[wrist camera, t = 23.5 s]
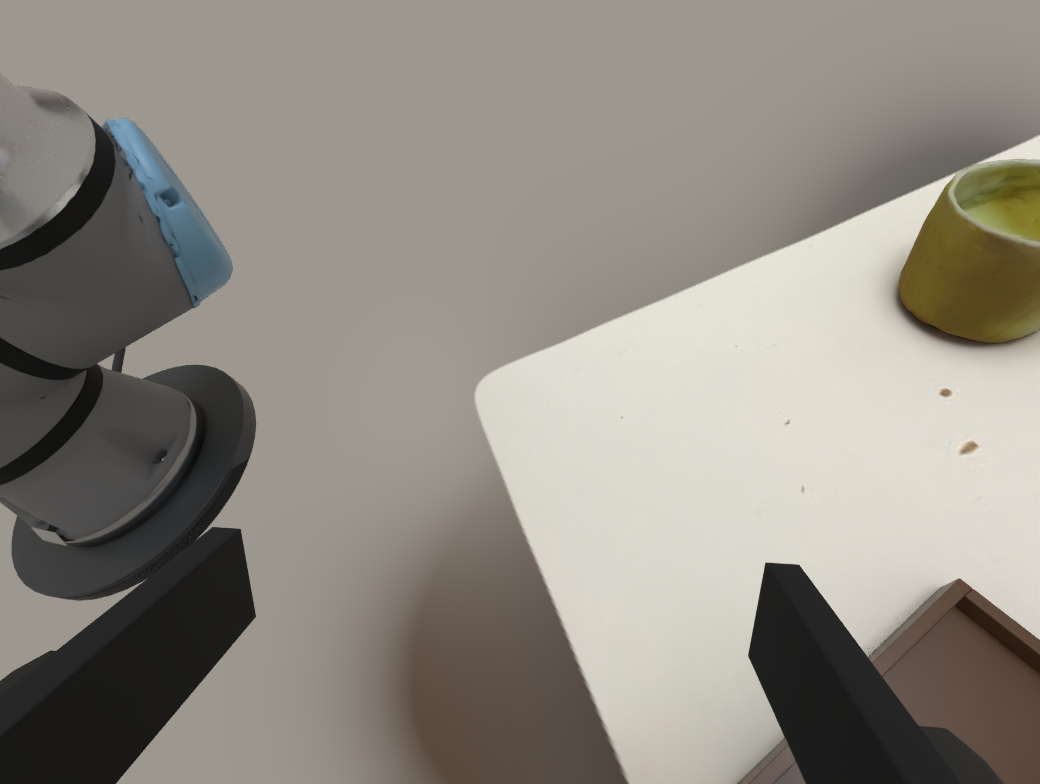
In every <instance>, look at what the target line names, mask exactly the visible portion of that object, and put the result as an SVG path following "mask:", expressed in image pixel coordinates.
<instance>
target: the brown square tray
mask: <svg viewBox="0 0 1040 784" xmlns="http://www.w3.org/2000/svg"><path fill="white" fill-rule="evenodd" d="M868 658H869V660H870V661H871V662H872V664H873V665H874V666H875V668H876V669H877V670H878V672H879V673H880V674H881V676H882V677H883V679H884V680H885V681H886V683H887V684H888V685H889V687H890V688H891V689H892V691H893V692H894V693H895V695H896V696H897V697H898V699H899V700H900V701H901V703H902V704H903V705H904V707H905V708H906V710H907V711H908V712H909V714H910V715H911V716H912V718H913V719H914V720H915V722H916V723H917V724H918V726H926V727H938V728H947V729H948V730H949V731H951V732H952V733H953V734H954V735H955V736H957V737H958V738H959V739H960V740H961V741H963V742H964V743H965V744H966V745H967V746H969V747H970V748H971V749H972V750H973V751H975V752H976V753H977V754H978V755H979V756H981V757H982V758H983V759H984V760H985V761H986V762H987V763H988V765H989V766H990V767H991V768H992V769H993V771H994V772H995V773H996V774H997V776H998V777H999V778H1000V779H1001V780H1002V782H1003V783H1004V784H1040V640H1039V639H1038V638H1036V637H1035V636H1034V635H1032V634H1031V633H1030V632H1029V631H1027V630H1026V629H1025V628H1023V627H1022V626H1021V625H1019V624H1018V623H1017V622H1016V621H1014V620H1013V619H1012V618H1010V617H1009V616H1008V615H1006V614H1005V613H1004V612H1003V611H1001V610H1000V609H999V608H997V607H996V606H995V605H993V604H992V603H991V602H990V601H988V600H987V599H986V598H984V597H983V596H982V595H980V594H979V593H978V592H977V591H975V590H974V589H972V588H971V587H970V586H969V585H968V584H966V583H965V582H964V581H962V580H961V579H957V580H955V581H953V582H951V583H949V584H947V585H945V586H943V587H940V588H939V589H938V590H937V591H936V592H935V593H934V594H933V595H932V596H931V597H930V598H929V599H928V600H927V601H926V602H925V603H924V604H923V605H922V606H920V607H919V608H918V609H917V610H916V611H915V612H914V613H913V614H912V615H911V616H910V617H909V618H908V619H907V620H906V621H905V622H904V623H903V624H902V625H901V626H900V627H899V628H898V629H897V630H896V631H895V632H894V633H893V634H892V635H891V636H890V637H888V638H887V639H886V640H885V641H884V642H883V643H882V644H881V645H880V646H879V647H878V648H877V649H876V650H875V651H874V652H873V653H872V654H871V655H870V656H869V657H868ZM738 784H806V783H805V781H804V778H803V776H802V774H801V772H800V770H799V767H798V765H797V763H796V761H795V758H794V756H793V754H792V752H791V750H790V747H789V745H788V743H787V741H786V738H784V739H783V740H782V741H781V742H780V743H779V744H778V745H777V746H776V747H775V748H774V749H773V750H772V751H771V752H770V753H769V754H768V755H767V756H766V757H765V758H764V759H762V760H761V761H760V762H759V763H758V764H757V765H756V766H755V767H754V768H753V769H752V770H751V771H750V772H749V773H748V774H747V775H746V776H745V777H744V778H743V779H742V780H741V781H740V782H739V783H738Z"/></svg>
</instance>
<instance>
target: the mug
mask: <svg viewBox="0 0 1040 784" xmlns="http://www.w3.org/2000/svg"><path fill="white" fill-rule="evenodd" d="M899 292H900V296H901V300H902V302H903V305H904V306H905V307H906V308H907V310H908V311H909V312H911V313H913V314H914V316H915V317H916V318H918V319H919V320H920V321H922V322H924V323H926V324H930V325H933V326H935V327H937V328H938V329H940V330H941V331H943V332H946V333H948V334H951V335H957V336H961V337H964V338H968V339H971V340H976V341H981V342H986V343H1001V342H1006V341H1009V340H1013V339H1016V338H1020V337H1024V336H1026V335H1028V334H1031V333H1033V332H1035V331H1037V330H1039V329H1040V160H1028V159H1011V160H999V161H992V162H987V163H982V164H977V165H973V166H970V167H968V168H966V169H964V170H963V171H961V172H959V173H957V174H956V175H955V176H954V177H953V179H952V180H951V181H950V182H949V183H948V184H947V185H946V186H945V188H944V190H943V191H942V193H941V195H940V196H939V198H938V200H937V202H936V203H935V205H934V207H933V208H932V210H931V211H930V213H929V214H928V216H927V218H926V220H925V222H924V224H923V226H922V228H921V230H920V232H919V235H918V237H917V239H916V241H915V243H914V245H913V248H912V250H911V252H910V254H909V257H908V259H907V261H906V263H905V265H904V267H903V269H902V272H901V276H900V280H899Z"/></svg>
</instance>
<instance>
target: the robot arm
mask: <svg viewBox="0 0 1040 784" xmlns="http://www.w3.org/2000/svg"><path fill="white" fill-rule="evenodd" d="M232 270H233V267H232V261H231V259H230V256H229V254H228V252H227V251H226V249H225V247H224V245H223V244H222V242H221V241H220V239H219V237H218V236H217V234H216V233H215V231H214V229H213V228H212V226H211V225H210V223H209V222H208V220H207V219H206V217H205V216H204V214H203V213H202V211H201V210H200V208H199V207H198V205H197V204H196V203H195V201H194V199H193V198H192V196H191V195H190V194H189V192H188V191H187V189H186V188H185V186H184V185H183V184H182V182H181V181H180V179H179V178H178V177H177V175H176V174H175V172H174V171H173V170H172V168H171V167H170V166H169V164H168V163H167V161H166V160H165V159H164V157H163V156H162V155H161V153H160V152H159V151H158V150H157V148H156V147H155V146H154V144H153V143H152V142H151V140H150V139H149V138H148V137H147V136H146V134H145V133H144V132H143V131H142V130H141V129H140V128H138V127H137V126H136V124H135V123H134V122H133V121H131V120H129V119H127V118H121V119H117V120H109V119H108V120H106V121H105V123H104V125H103V126H102V127H100V126H99V125H98V124H97V123H96V122H95V121H94V120H93V119H92V118H91V117H90V116H89V115H87V113H85V112H84V111H83V110H82V109H81V108H80V107H79V106H78V105H77V104H75V103H74V102H73V101H71V100H70V99H69V98H68V97H66V96H63V95H61V94H59V93H56V92H53V91H50V90H45V89H39V88H32V87H24V86H17V85H13V84H12V83H11V82H10V81H9V80H8V79H7V78H6V77H4V76H3V75H2V74H1V73H0V502H1V503H2V504H3V505H5V506H6V507H7V508H8V509H10V510H11V511H12V512H13V513H15V514H16V515H17V516H19V517H20V518H21V519H22V520H24V521H25V522H26V523H27V524H29V525H30V526H32V527H31V528H32V529H33V530H34V531H35V532H36V533H37V534H38V536H39V537H40V538H41V539H42V540H44V541H48V542H52V543H56V544H61V545H65V546H67V545H66V544H68V545H71V546H75V547H93V546H98V545H102V544H105V543H108V542H111V541H113V540H116V539H118V538H120V537H122V536H124V535H126V534H127V533H129V532H131V531H132V530H134V529H136V528H137V527H139V526H140V525H141V524H143V523H144V522H146V521H147V520H148V519H149V518H151V517H152V516H153V515H154V514H155V513H156V512H157V511H159V510H160V509H161V508H162V507H163V506H164V505H165V504H166V503H167V502H168V501H169V500H170V498H171V497H172V496H173V495H174V494H175V493H176V492H177V490H178V489H179V488H180V486H181V485H182V484H183V482H184V481H185V479H186V478H187V477H188V475H189V473H190V472H191V470H192V468H193V466H194V464H195V463H196V460H197V458H198V456H199V454H200V451H201V448H202V445H203V441H204V436H205V419H204V415H203V412H202V410H201V408H200V407H199V405H198V404H197V403H196V402H194V401H193V400H192V399H190V398H189V397H187V396H186V395H184V394H183V393H181V392H180V391H178V390H176V389H174V388H171V387H168V386H164V385H160V384H157V383H154V382H150V381H147V380H144V379H140V378H136V377H133V376H129V375H126V374H122V373H121V371H122V365H123V359H124V354H125V348H126V346H128V345H130V344H131V343H133V342H135V341H137V340H138V339H140V338H142V337H144V336H145V335H147V334H149V333H150V332H152V331H154V330H156V329H157V328H159V327H161V326H163V325H164V324H166V323H168V322H170V321H171V320H173V319H175V318H176V317H178V316H180V315H182V314H183V313H185V312H187V311H188V310H190V309H192V308H196V307H197V306H199V305H200V302H201V301H202V300H204V299H205V298H207V297H208V296H209V295H211V294H212V293H214V292H215V291H217V290H218V289H220V288H221V287H222V286H224V285H225V284H226V283H227V281H228V280H229V279H230V277H231V273H232ZM114 353H115V355H114V360H113V365H112V370H108V369H106V368H103V367H101V366H100V365H98V364H97V363H99V362H100V361H102V360H104V359H105V358H107V357H109V356H111V355H112V354H114ZM255 617H256V615H255V609H254V603H253V597H252V592H251V587H250V580H249V574H248V569H247V563H246V558H245V553H244V546H243V541H242V534H241V529H233V528H218V527H212V528H211V529H210V530H208V532H206V533H205V534H204V535H202V536H201V537H200V538H198V539H197V540H196V541H195V542H193V543H192V544H191V545H190V546H188V547H187V548H186V549H184V550H183V551H182V552H181V553H179V554H178V555H177V556H176V557H174V558H173V559H172V560H171V561H169V562H168V563H167V564H166V565H164V566H163V567H162V568H160V569H159V570H158V571H157V572H155V573H154V574H153V575H152V576H150V577H149V578H148V579H147V580H145V581H144V582H143V583H142V584H140V585H139V586H138V587H136V588H135V589H134V590H133V591H131V592H130V593H129V594H128V595H126V596H125V597H124V598H123V599H121V600H120V601H119V602H118V603H116V604H115V605H114V606H113V607H111V608H110V609H109V610H108V611H106V612H105V613H104V614H102V615H101V616H100V617H99V618H97V619H96V620H95V621H94V622H93V623H91V624H90V625H88V626H87V627H86V628H85V629H84V630H82V631H81V632H80V633H78V634H77V635H76V636H75V637H74V638H72V639H71V640H70V641H68V642H67V643H66V644H65V645H63V646H62V647H61V648H59V649H58V650H57V651H49V652H47V653H45V654H44V655H42V656H40V657H38V658H36V659H34V660H33V661H31V662H29V663H27V664H26V665H23V666H22V667H20V668H18V669H16V670H14V671H13V672H11V673H10V674H9V675H8V676H6V677H5V678H4V679H2V680H1V681H0V784H116V783H117V782H118V780H119V779H120V778H121V776H123V774H124V773H125V772H126V771H127V770H128V768H129V767H130V766H131V765H132V764H133V762H134V761H135V760H136V759H137V758H138V757H139V755H140V754H141V753H142V752H143V750H144V749H145V748H146V747H147V746H148V745H149V743H150V742H151V741H152V740H153V738H154V737H155V736H156V735H157V734H158V732H159V731H160V730H161V729H162V728H163V727H164V726H165V724H166V723H167V722H168V721H169V720H170V718H171V717H172V716H173V715H174V714H175V712H176V711H177V710H178V709H179V708H180V706H181V705H182V704H183V703H184V702H185V700H186V699H187V698H188V697H189V695H191V693H192V692H193V691H194V690H195V688H196V687H197V686H198V685H199V684H200V683H201V681H202V680H203V679H204V678H205V677H206V675H207V674H208V673H209V672H210V671H211V669H212V668H213V667H214V666H215V665H216V664H217V662H218V661H219V660H220V659H221V658H222V656H223V655H224V654H225V653H226V652H227V650H228V649H229V648H230V647H231V646H232V644H233V643H234V642H235V641H236V640H237V638H238V637H239V636H240V635H241V634H242V632H243V631H244V630H245V629H246V628H247V626H248V625H249V624H250V623H251V622H252V620H253V619H254V618H255ZM748 656H749V659H750V661H751V663H752V665H753V668H754V670H755V672H756V674H757V676H758V679H759V681H760V683H761V685H762V687H763V690H764V692H765V694H766V696H767V699H768V701H769V703H770V705H771V707H772V710H773V712H774V714H775V716H776V719H777V721H778V723H779V725H780V727H781V730H782V732H783V734H784V736H785V738H786V741H787V743H788V745H789V747H790V750H791V752H792V754H793V756H794V758H795V761H796V763H797V765H798V767H799V770H800V772H801V774H802V776H803V778H804V781H805V783H806V784H1004V783H1003V782H1002V780H1001V779H1000V778H999V777H998V776H997V774H996V773H995V772H994V771H993V769H992V768H991V767H990V766H989V765H988V763H987V762H986V761H985V760H984V759H983V758H982V757H981V756H979V755H978V754H977V753H976V752H975V751H973V750H972V749H971V748H970V747H969V746H967V745H966V744H965V743H964V742H963V741H961V740H960V739H959V738H958V737H957V736H955V735H954V734H953V733H952V732H951V731H949V730H948V729H947V728H938V727H926V726H918V724H917V723H916V722H915V720H914V719H913V718H912V716H911V715H910V714H909V712H908V711H907V710H906V708H905V707H904V705H903V704H902V703H901V701H900V700H899V699H898V697H897V696H896V695H895V693H894V692H893V691H892V689H891V688H890V687H889V685H888V684H887V683H886V681H885V680H884V679H883V677H882V676H881V674H880V673H879V672H878V670H877V669H876V668H875V666H874V665H873V664H872V662H871V661H870V660H869V658H868V657H867V656H866V654H865V653H864V652H863V650H862V649H861V648H860V646H859V645H858V643H857V642H856V641H855V639H854V638H853V637H852V635H851V634H850V633H849V631H848V630H847V629H846V627H845V626H844V625H843V623H842V622H841V621H840V619H839V618H838V617H837V615H836V614H835V612H834V611H833V610H832V608H831V607H830V606H829V604H828V603H827V602H826V600H825V599H824V598H823V596H822V595H821V594H820V592H819V591H818V590H817V588H816V587H815V585H814V584H813V583H812V581H811V580H810V579H809V577H808V576H807V575H806V573H805V572H804V571H803V569H802V568H801V567H800V565H794V564H778V563H765V568H764V574H763V579H762V584H761V590H760V595H759V600H758V606H757V611H756V617H755V622H754V627H753V633H752V638H751V643H750V649H749V654H748Z"/></svg>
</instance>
